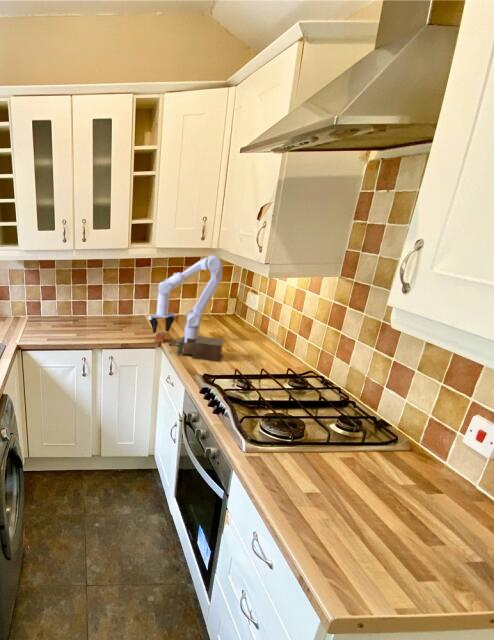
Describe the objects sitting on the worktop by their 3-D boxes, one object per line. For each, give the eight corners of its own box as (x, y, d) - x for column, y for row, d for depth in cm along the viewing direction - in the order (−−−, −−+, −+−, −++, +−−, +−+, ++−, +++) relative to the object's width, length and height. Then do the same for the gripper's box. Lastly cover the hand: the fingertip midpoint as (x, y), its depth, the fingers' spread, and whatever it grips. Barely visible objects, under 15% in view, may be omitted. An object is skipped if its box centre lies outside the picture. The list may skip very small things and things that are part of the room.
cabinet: (192, 358, 191) (194, 342, 188) (196, 351, 200) (198, 336, 197) (218, 361, 186) (220, 345, 183) (221, 354, 195) (223, 339, 192)
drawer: (167, 352, 195) (168, 340, 193) (171, 346, 203) (172, 335, 201) (200, 356, 190) (201, 344, 187) (203, 350, 198) (204, 339, 195)
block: (157, 339, 217) (157, 332, 216) (164, 340, 216) (165, 333, 214) (155, 341, 214) (155, 334, 212) (162, 342, 212) (163, 335, 211)
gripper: (154, 308, 202) (152, 335, 207) (179, 306, 206) (177, 332, 212) (147, 305, 208) (145, 331, 213) (171, 303, 212) (169, 329, 218)
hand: (160, 332), depth 213 cm, fingers open, 7 cm apart
